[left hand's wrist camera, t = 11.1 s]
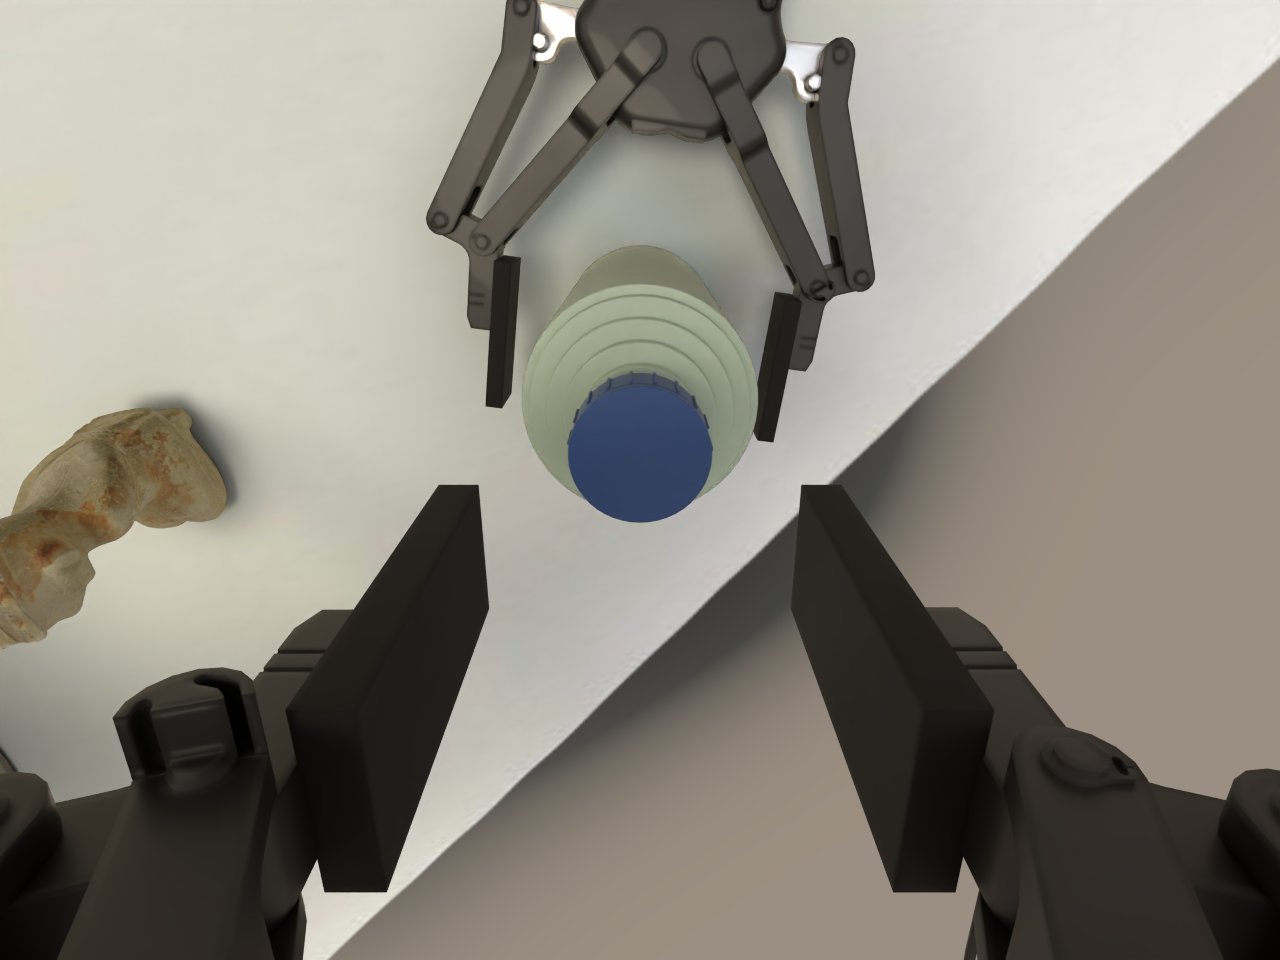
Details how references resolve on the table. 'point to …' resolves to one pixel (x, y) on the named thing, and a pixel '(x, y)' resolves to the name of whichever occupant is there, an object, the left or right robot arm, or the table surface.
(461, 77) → the table surface
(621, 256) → the bottle
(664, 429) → the cap
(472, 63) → the table surface
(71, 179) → the table surface
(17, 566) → the sculpture
